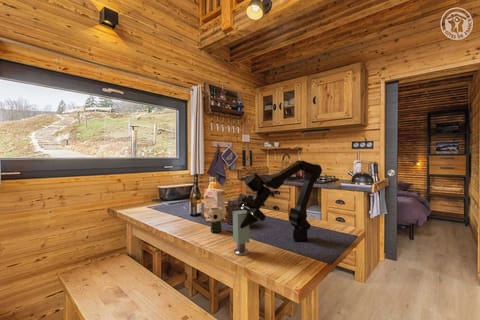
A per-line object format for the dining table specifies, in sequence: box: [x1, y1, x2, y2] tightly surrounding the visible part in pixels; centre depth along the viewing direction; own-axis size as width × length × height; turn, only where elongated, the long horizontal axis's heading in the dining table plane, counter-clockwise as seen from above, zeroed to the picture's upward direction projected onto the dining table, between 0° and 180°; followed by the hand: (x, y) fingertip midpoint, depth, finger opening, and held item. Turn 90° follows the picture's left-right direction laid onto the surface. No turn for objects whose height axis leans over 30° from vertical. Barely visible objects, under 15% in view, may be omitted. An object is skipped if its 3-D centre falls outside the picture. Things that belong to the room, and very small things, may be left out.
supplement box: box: [227, 197, 239, 228], centre depth 136 cm, size 9×5×16 cm, turn 143°
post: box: [233, 243, 249, 256], centre depth 99 cm, size 6×6×4 cm
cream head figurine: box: [208, 207, 225, 234], centre depth 125 cm, size 11×7×13 cm, turn 61°
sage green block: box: [232, 210, 250, 245], centre depth 98 cm, size 5×5×13 cm
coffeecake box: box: [203, 187, 226, 218], centre depth 152 cm, size 15×7×20 cm, turn 45°
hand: (238, 225), depth 98 cm, fingers closed on sage green block, 5 cm apart
